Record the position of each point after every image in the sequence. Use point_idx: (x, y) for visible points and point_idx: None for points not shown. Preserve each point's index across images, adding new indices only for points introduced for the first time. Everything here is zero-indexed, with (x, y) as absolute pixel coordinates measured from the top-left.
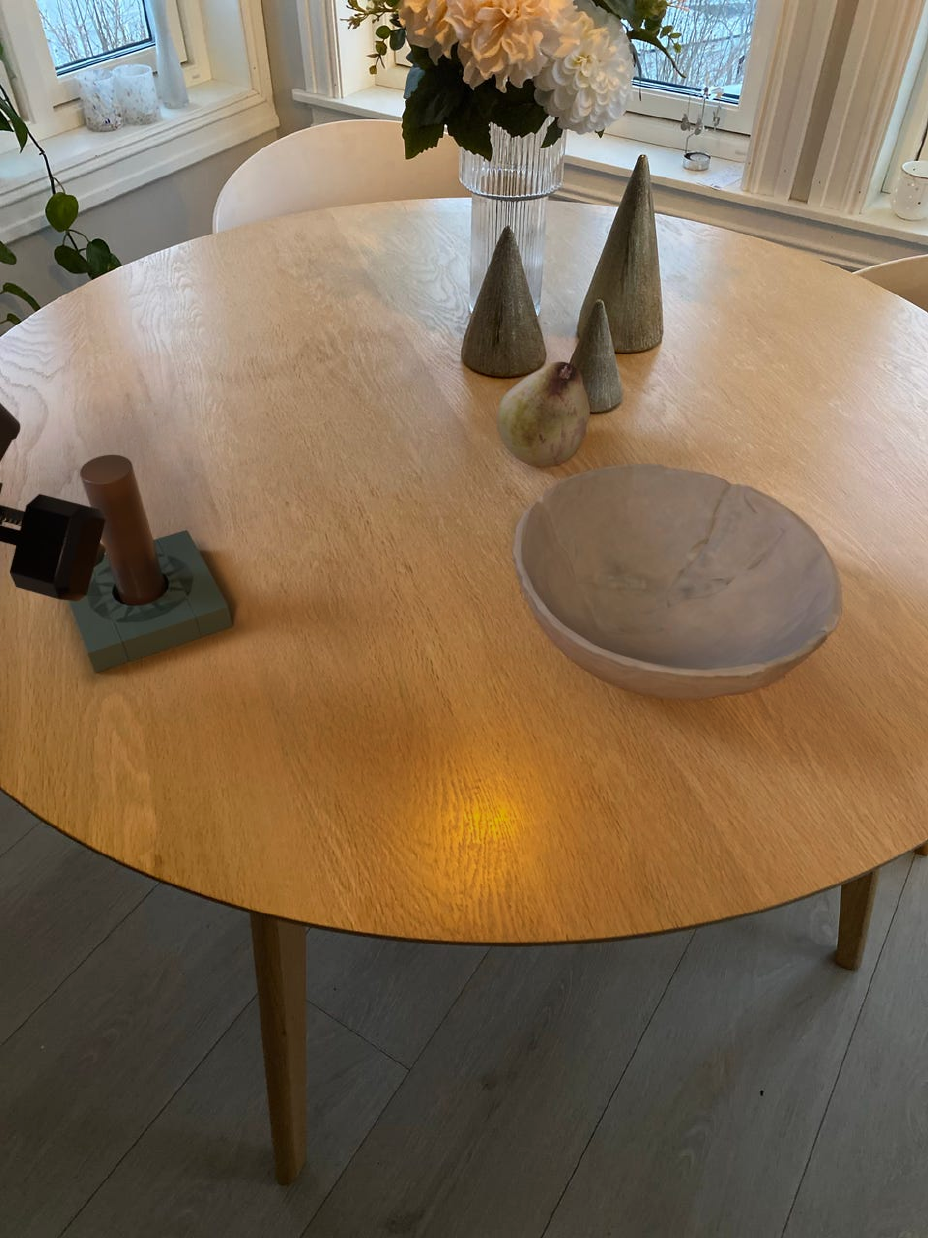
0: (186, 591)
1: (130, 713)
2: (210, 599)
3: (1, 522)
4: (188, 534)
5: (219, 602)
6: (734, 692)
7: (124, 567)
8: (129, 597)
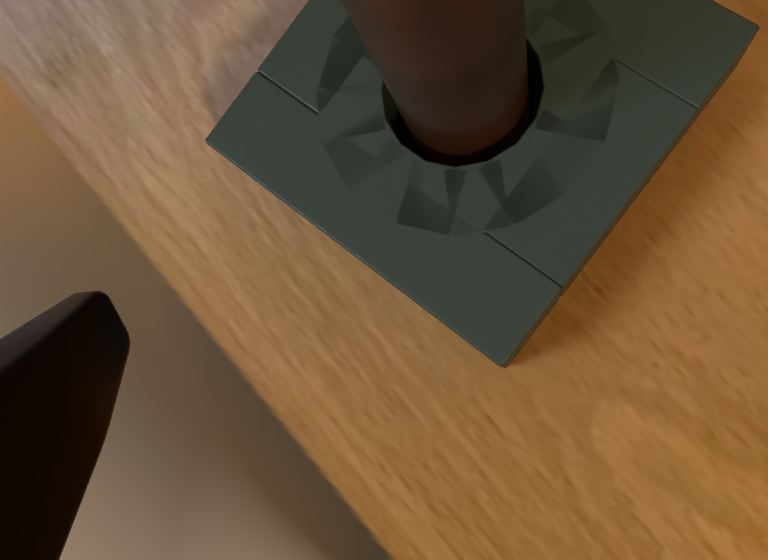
0: (596, 38)
1: (691, 447)
2: (687, 29)
3: (106, 302)
4: None
5: (724, 26)
6: None
7: (473, 89)
8: (472, 141)
